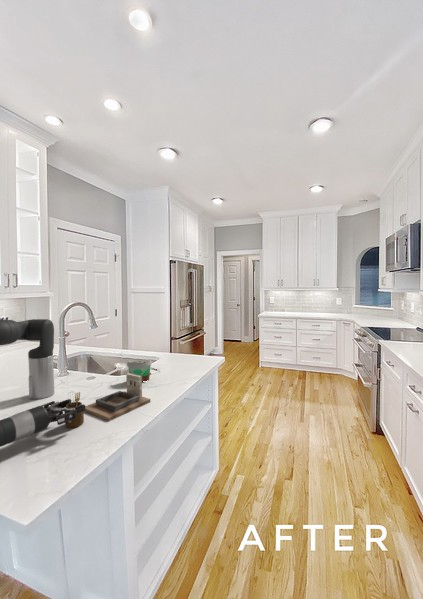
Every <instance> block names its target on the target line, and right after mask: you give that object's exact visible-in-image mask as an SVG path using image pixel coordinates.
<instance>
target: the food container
mask: <svg viewBox="0 0 423 599" xmlns="http://www.w3.org/2000/svg"><path fill="white" fill-rule="evenodd" d="M151 365H153V362H152V360H151V359H149V360H145V361H144V360H139V361H134V362H132V361H131V362H129V361H127V362H126V366H127V367H128V373H130V374H134V375H139V376H142V382H143V381H147V380H148V381H150V375H151V374H150V372H151V368H150V367H152V366H151ZM148 381H147V382H148ZM143 383H144V382H143Z"/></svg>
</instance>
